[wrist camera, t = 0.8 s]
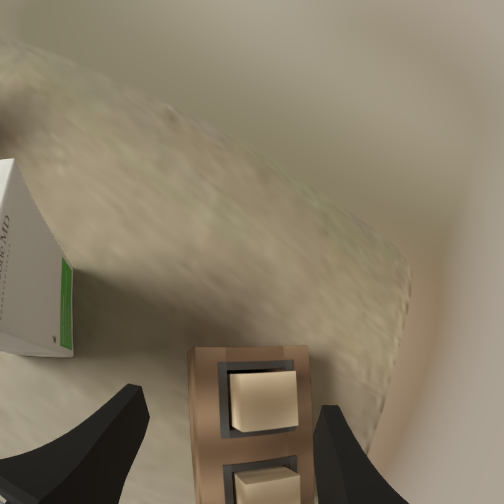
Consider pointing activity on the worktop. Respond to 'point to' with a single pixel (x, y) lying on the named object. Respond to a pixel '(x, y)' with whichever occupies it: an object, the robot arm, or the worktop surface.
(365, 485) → the robot arm
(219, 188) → the worktop surface
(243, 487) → the peg
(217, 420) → the walnut block
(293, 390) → the peg
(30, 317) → the skincare box
